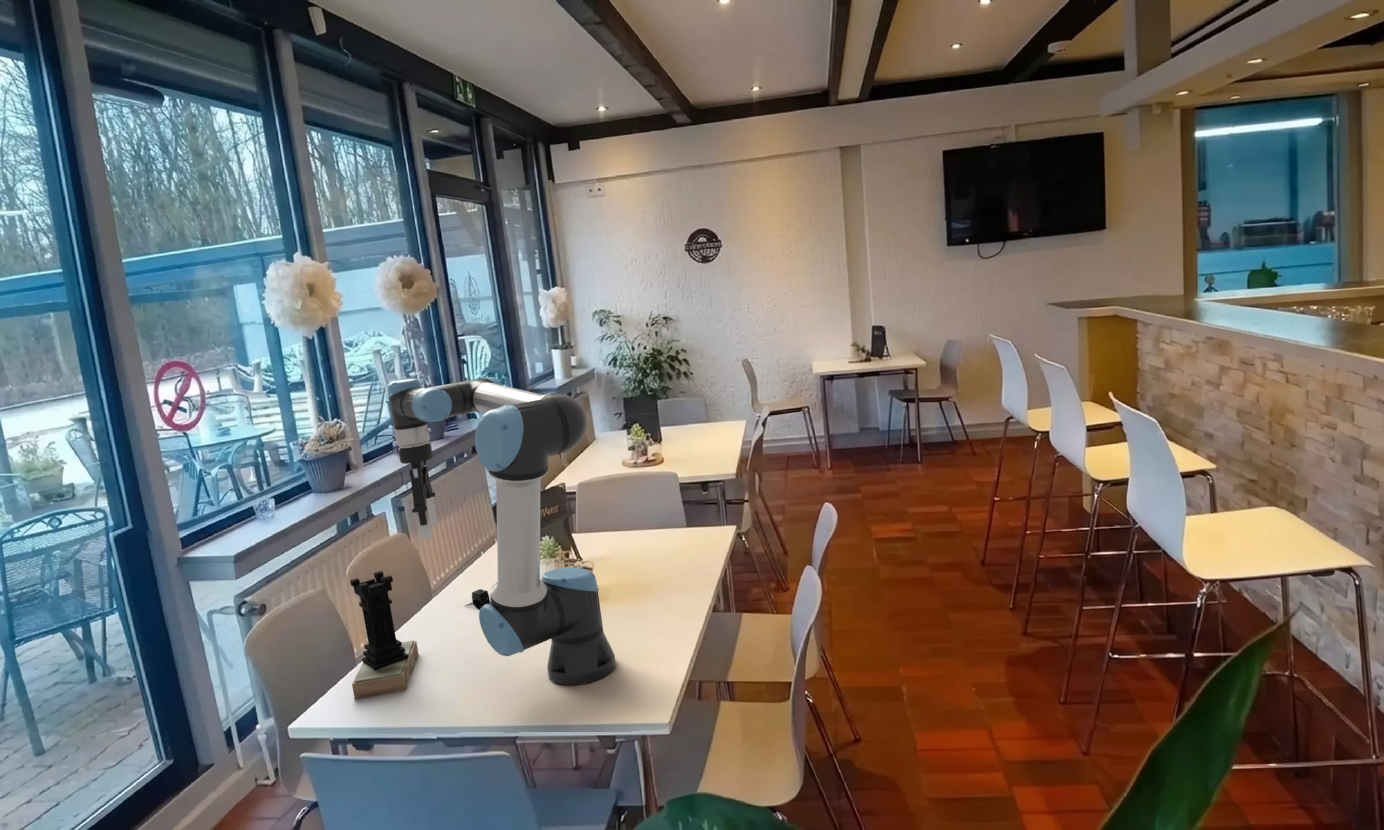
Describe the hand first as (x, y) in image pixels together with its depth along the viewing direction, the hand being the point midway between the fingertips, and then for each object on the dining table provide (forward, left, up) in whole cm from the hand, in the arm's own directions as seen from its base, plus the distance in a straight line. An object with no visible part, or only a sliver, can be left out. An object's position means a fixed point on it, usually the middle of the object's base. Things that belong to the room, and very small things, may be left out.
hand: (429, 530), depth 207 cm
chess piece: (-8, +13, -27) cm, 31 cm away
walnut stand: (-8, +13, -31) cm, 35 cm away
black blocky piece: (+31, -6, -32) cm, 45 cm away
